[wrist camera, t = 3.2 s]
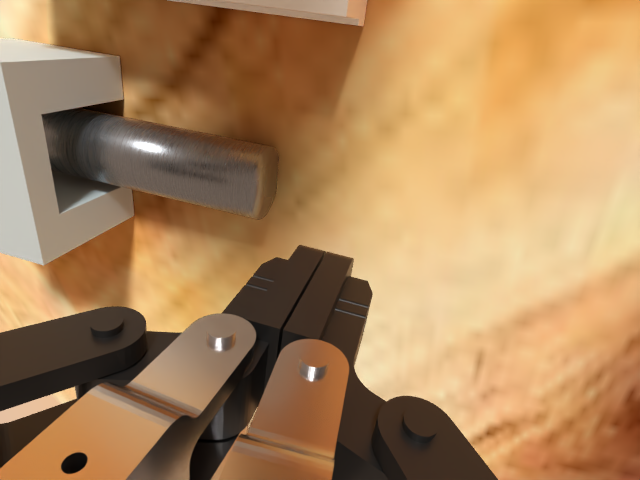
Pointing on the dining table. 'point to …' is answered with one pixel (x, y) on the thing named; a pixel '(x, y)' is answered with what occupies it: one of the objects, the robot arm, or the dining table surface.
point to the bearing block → (32, 154)
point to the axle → (163, 160)
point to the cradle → (298, 8)
